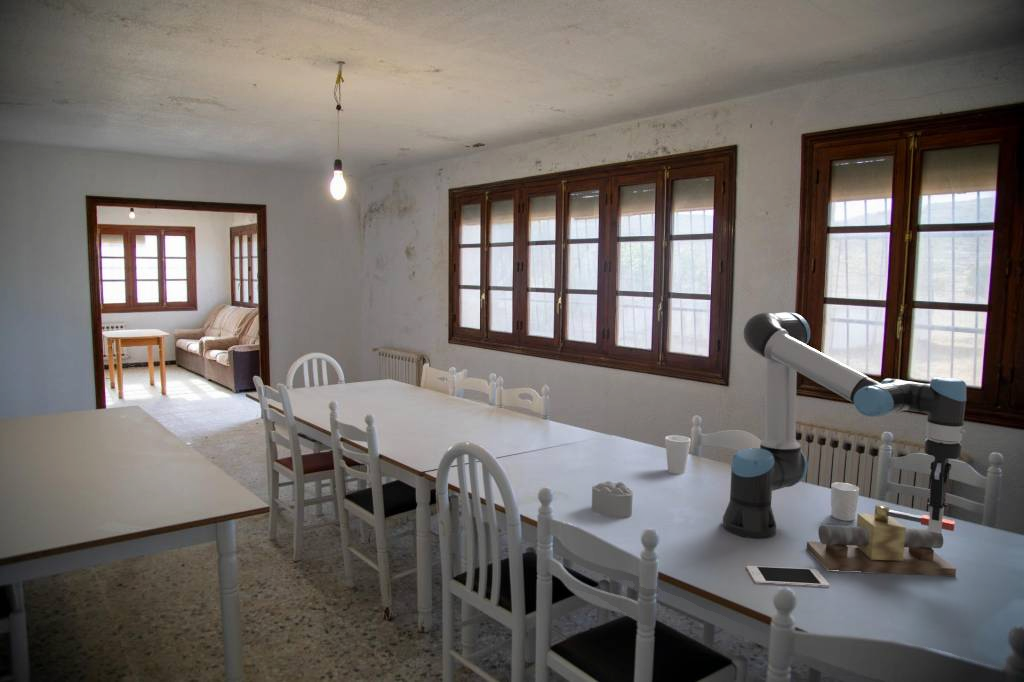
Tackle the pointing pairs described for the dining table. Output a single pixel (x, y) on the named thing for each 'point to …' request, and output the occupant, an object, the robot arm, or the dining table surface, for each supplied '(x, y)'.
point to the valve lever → (908, 517)
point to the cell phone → (787, 575)
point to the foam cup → (677, 453)
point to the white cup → (844, 501)
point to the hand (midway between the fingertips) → (934, 531)
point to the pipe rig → (880, 548)
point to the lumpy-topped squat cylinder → (612, 499)
